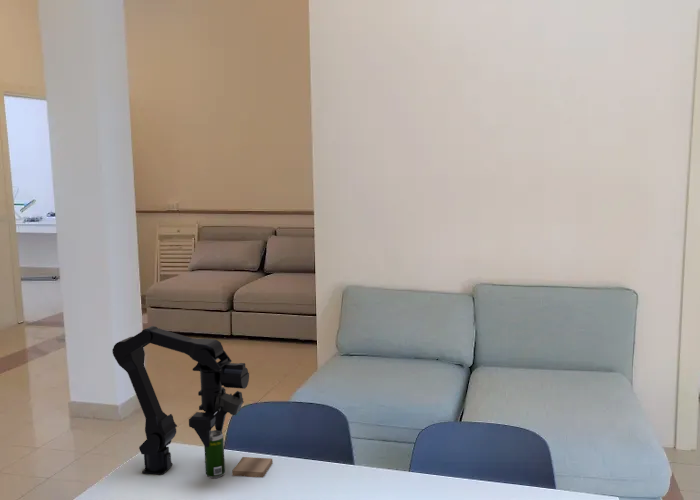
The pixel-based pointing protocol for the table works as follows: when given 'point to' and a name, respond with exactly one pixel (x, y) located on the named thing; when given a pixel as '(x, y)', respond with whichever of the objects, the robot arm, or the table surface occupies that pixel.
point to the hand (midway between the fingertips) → (213, 440)
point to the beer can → (215, 455)
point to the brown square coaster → (252, 467)
